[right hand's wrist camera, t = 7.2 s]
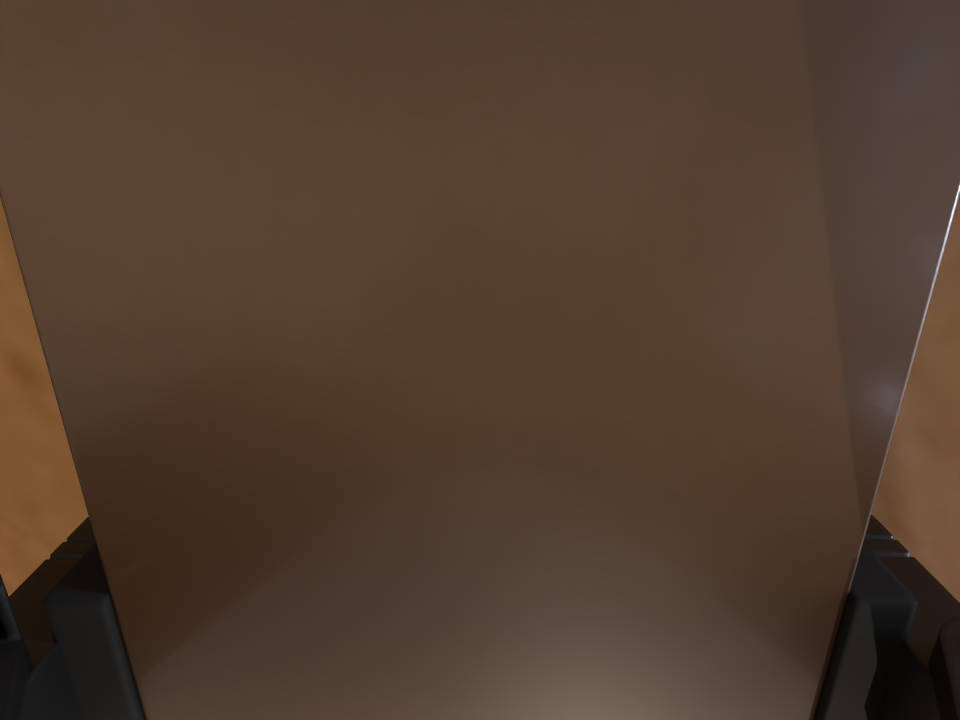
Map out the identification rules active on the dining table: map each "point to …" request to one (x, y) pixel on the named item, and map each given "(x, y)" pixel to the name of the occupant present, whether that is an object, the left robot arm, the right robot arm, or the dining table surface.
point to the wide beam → (479, 336)
